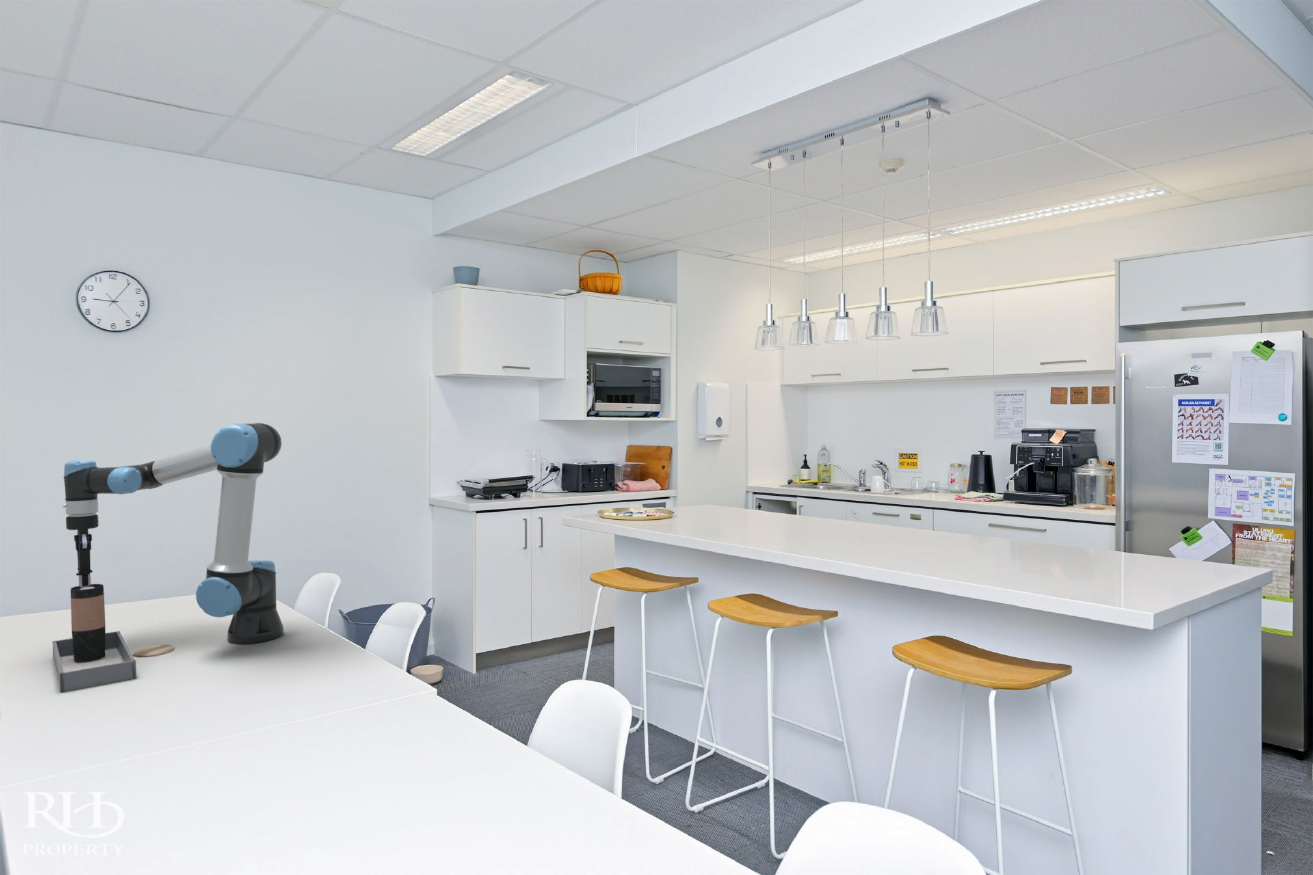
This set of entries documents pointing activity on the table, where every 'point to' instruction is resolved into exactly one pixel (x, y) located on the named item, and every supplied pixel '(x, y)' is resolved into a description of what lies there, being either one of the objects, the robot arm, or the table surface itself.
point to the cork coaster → (153, 650)
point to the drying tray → (94, 674)
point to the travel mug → (88, 622)
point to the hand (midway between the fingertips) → (85, 596)
